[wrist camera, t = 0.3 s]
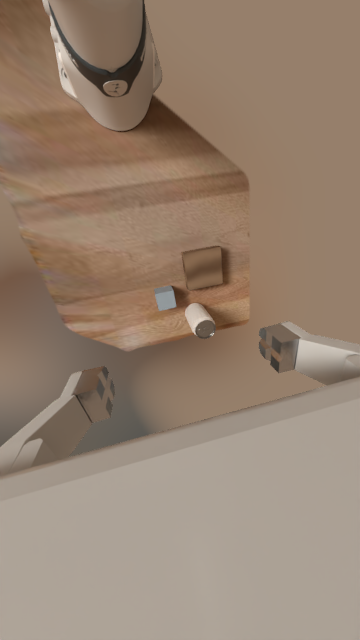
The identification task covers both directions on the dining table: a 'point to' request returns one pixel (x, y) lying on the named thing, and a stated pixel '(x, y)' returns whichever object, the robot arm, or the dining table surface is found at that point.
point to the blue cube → (165, 298)
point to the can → (200, 321)
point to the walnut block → (202, 267)
